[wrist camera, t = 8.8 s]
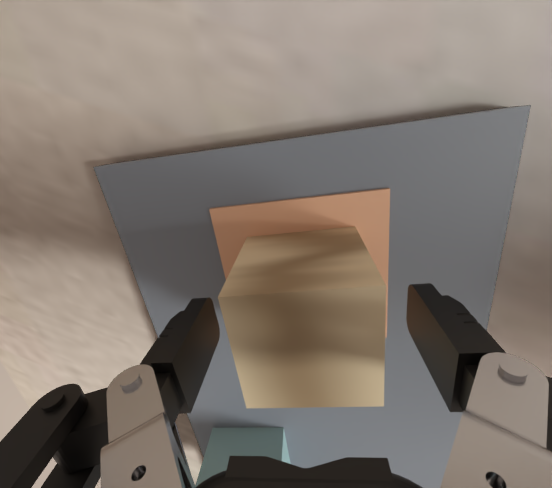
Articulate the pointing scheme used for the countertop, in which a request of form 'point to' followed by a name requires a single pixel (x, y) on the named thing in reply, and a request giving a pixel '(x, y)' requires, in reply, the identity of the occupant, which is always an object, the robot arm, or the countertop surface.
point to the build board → (327, 215)
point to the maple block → (307, 320)
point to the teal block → (242, 447)
